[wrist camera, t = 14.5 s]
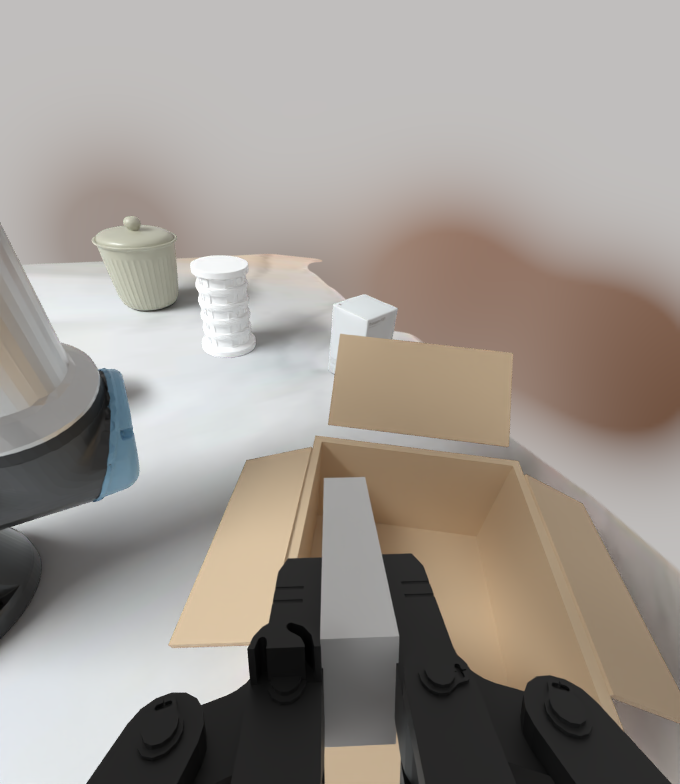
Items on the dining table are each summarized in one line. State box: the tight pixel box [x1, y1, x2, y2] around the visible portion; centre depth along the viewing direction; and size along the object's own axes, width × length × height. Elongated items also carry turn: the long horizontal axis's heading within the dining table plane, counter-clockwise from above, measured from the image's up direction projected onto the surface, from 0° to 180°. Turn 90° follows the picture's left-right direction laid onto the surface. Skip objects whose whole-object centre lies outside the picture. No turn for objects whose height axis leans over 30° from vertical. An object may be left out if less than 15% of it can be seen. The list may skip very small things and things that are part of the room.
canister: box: [92, 216, 178, 311], centre depth 90 cm, size 18×18×21 cm
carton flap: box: [328, 334, 513, 447], centre depth 41 cm, size 1×20×10 cm
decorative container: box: [190, 255, 256, 358], centre depth 77 cm, size 12×12×18 cm
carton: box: [168, 436, 680, 784], centre depth 33 cm, size 26×37×14 cm
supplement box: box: [328, 294, 398, 374], centre depth 72 cm, size 9×9×15 cm
